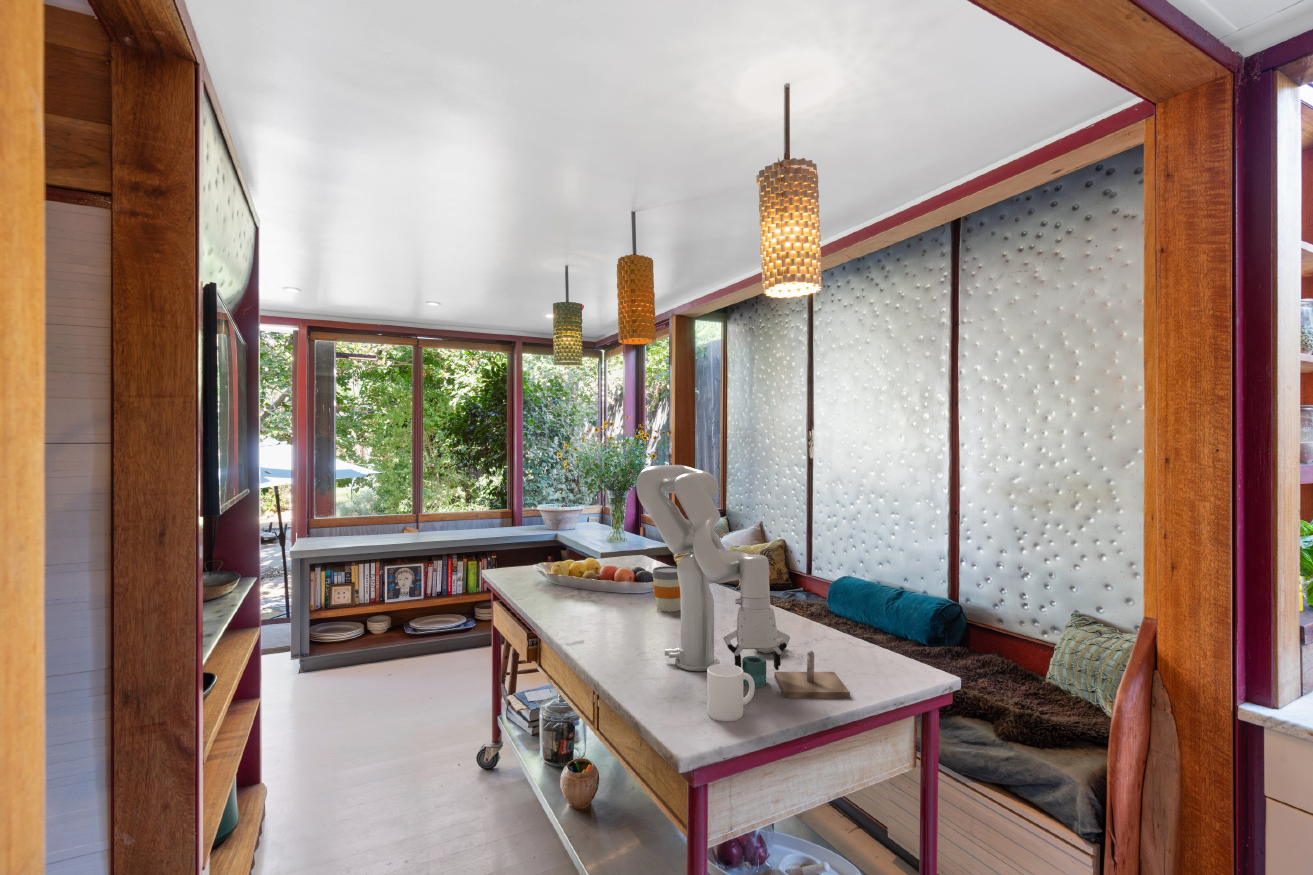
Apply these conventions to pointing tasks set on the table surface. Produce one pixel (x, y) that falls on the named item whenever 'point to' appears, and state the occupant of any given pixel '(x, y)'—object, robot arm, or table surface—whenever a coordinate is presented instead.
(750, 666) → the bead
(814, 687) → the spindle stand
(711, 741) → the table surface
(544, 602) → the table surface
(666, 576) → the reusable coffee cup
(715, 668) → the mug
